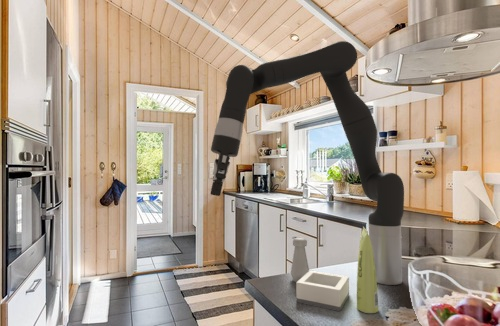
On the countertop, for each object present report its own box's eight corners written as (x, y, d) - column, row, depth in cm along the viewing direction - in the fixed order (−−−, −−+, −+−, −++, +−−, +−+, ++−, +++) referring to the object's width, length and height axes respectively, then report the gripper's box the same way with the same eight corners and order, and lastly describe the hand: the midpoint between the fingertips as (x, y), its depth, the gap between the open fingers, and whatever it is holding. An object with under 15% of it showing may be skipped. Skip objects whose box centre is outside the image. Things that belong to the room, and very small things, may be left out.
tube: (350, 306, 75) (349, 227, 76) (364, 302, 78) (363, 225, 78) (368, 316, 70) (367, 231, 71) (383, 311, 73) (382, 229, 73)
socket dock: (309, 288, 88) (309, 270, 88) (349, 295, 82) (348, 276, 83) (296, 302, 78) (296, 282, 78) (340, 311, 73) (339, 290, 73)
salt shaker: (297, 276, 98) (296, 235, 98) (313, 280, 94) (312, 237, 95) (287, 281, 93) (287, 238, 94) (303, 285, 90) (303, 241, 90)
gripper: (244, 135, 77) (231, 198, 75) (237, 144, 91) (226, 197, 89) (215, 129, 76) (201, 192, 74) (212, 138, 90) (200, 192, 88)
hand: (214, 195), depth 82 cm, fingers open, 8 cm apart
